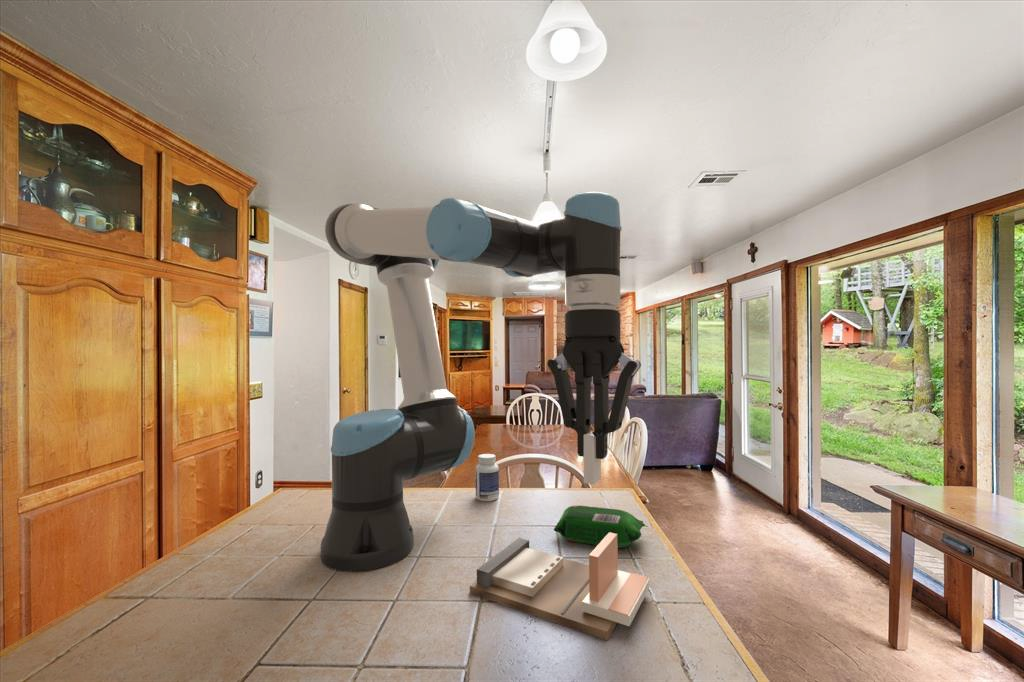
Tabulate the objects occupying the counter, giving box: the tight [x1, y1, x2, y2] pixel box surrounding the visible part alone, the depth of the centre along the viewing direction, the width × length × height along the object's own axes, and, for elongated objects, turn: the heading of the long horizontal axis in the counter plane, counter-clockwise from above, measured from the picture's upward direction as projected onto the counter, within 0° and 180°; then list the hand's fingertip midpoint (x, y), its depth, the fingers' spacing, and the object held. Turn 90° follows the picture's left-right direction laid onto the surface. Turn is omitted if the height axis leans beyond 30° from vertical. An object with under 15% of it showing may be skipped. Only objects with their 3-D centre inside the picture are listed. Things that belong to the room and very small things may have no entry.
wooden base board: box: [469, 537, 618, 641], centre depth 63 cm, size 20×14×3 cm
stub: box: [582, 532, 651, 627], centre depth 58 cm, size 6×10×7 cm, turn 149°
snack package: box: [553, 505, 648, 548], centre depth 79 cm, size 7×16×5 cm, turn 71°
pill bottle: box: [474, 453, 500, 502], centre depth 101 cm, size 5×5×10 cm
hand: (592, 480), depth 60 cm, fingers closed
